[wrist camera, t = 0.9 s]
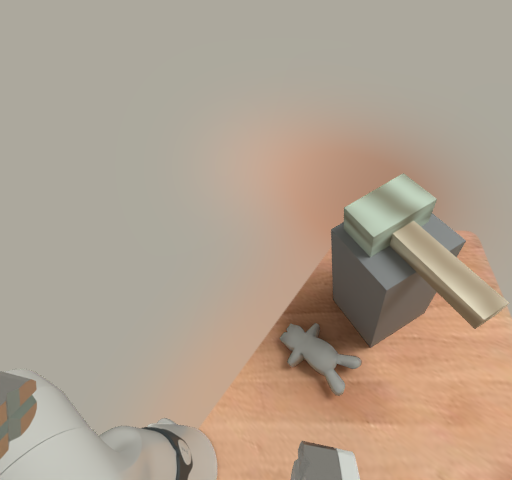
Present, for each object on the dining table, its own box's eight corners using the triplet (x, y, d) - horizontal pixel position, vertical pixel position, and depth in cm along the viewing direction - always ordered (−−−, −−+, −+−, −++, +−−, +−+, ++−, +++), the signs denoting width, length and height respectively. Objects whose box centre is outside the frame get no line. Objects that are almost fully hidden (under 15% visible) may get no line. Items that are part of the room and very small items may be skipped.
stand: (370, 347, 63) (386, 290, 42) (333, 299, 70) (331, 229, 49) (424, 312, 65) (465, 240, 44) (382, 268, 72) (401, 188, 51)
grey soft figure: (297, 309, 67) (365, 351, 58) (302, 319, 70) (366, 361, 62) (268, 347, 64) (335, 397, 55) (275, 355, 67) (338, 404, 59)
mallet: (452, 344, 37) (466, 329, 33) (343, 228, 49) (344, 207, 45) (519, 298, 39) (541, 279, 35) (398, 196, 50) (403, 173, 46)
